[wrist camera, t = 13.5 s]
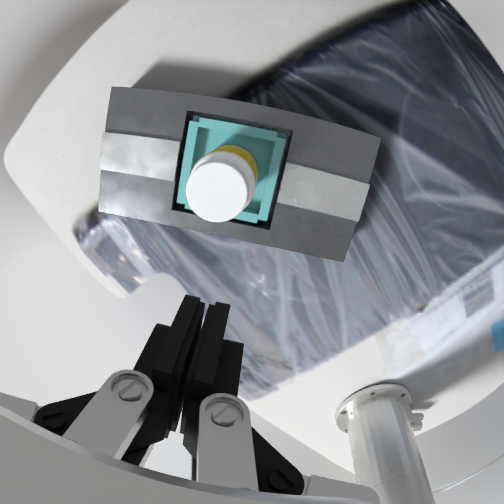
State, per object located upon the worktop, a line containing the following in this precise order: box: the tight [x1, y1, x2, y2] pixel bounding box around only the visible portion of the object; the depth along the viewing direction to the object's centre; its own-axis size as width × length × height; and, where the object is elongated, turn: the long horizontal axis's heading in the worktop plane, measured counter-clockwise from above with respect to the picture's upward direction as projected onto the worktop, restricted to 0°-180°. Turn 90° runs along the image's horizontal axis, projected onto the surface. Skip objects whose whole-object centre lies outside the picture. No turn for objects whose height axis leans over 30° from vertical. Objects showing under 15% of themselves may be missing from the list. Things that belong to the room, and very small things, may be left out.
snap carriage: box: [177, 116, 287, 223], centre depth 28 cm, size 8×8×3 cm
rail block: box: [99, 87, 381, 262], centre depth 28 cm, size 24×12×4 cm, turn 78°
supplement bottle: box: [186, 144, 258, 222], centre depth 24 cm, size 5×5×8 cm
